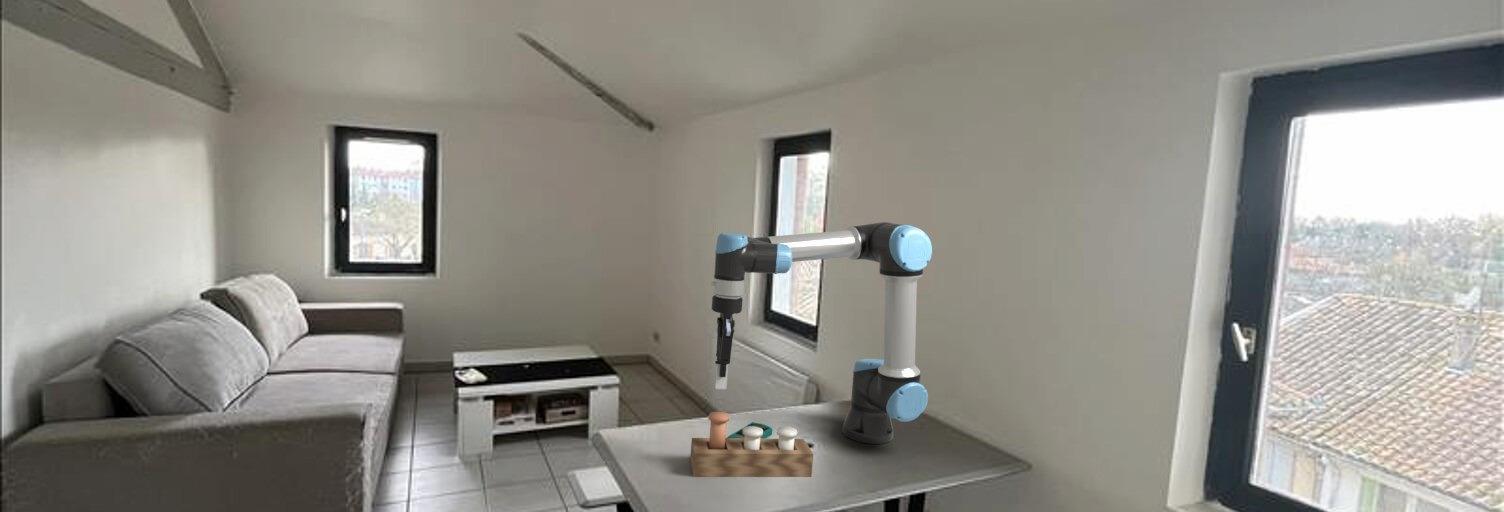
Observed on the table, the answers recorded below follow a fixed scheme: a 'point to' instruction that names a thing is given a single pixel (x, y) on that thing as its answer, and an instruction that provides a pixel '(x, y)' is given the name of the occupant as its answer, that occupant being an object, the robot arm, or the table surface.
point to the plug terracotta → (718, 430)
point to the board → (750, 459)
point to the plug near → (786, 438)
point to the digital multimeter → (766, 429)
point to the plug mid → (752, 437)
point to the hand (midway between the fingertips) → (720, 388)
